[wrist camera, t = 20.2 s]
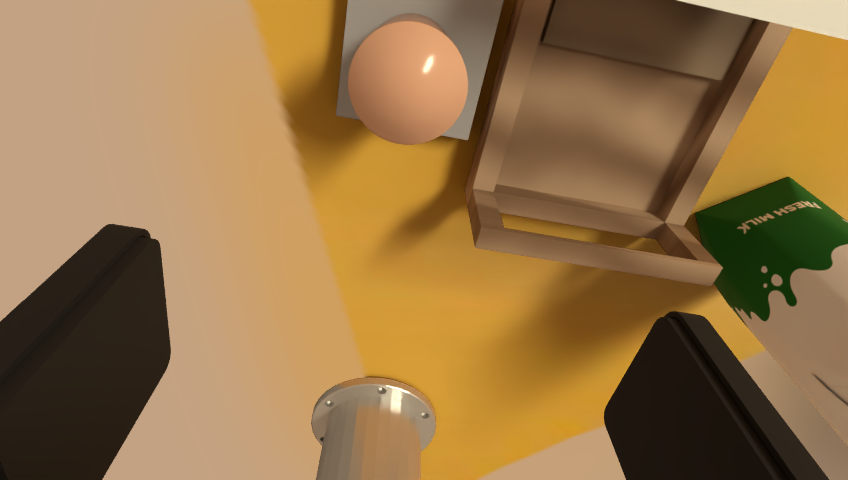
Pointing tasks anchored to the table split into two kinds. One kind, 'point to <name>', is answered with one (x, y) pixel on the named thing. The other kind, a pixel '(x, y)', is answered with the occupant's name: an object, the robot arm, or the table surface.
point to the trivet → (461, 21)
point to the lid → (790, 13)
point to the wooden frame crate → (614, 127)
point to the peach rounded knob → (408, 80)
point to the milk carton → (788, 285)
